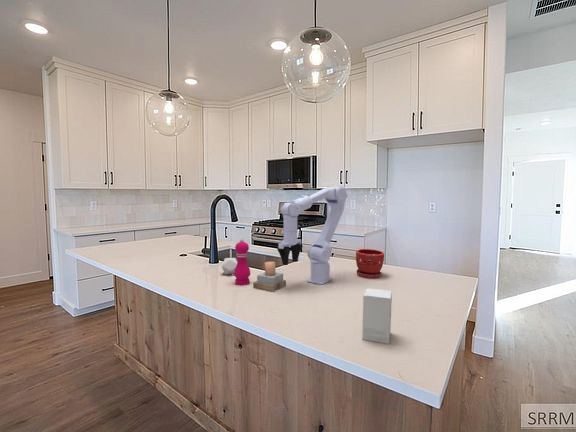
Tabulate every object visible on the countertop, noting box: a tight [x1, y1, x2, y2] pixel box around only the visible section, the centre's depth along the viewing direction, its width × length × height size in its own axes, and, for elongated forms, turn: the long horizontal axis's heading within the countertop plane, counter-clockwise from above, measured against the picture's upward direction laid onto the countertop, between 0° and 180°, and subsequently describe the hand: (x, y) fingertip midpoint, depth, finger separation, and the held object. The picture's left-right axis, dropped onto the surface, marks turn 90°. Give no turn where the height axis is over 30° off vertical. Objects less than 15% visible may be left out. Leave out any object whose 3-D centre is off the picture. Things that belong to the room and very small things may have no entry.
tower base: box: [252, 279, 287, 293], centre depth 134 cm, size 10×10×3 cm
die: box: [221, 257, 238, 276], centre depth 154 cm, size 8×9×10 cm
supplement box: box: [361, 288, 393, 344], centre depth 88 cm, size 7×7×13 cm
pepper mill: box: [234, 238, 251, 286], centre depth 139 cm, size 7×7×20 cm
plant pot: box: [355, 248, 385, 279], centre depth 151 cm, size 13×13×12 cm
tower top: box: [256, 271, 284, 285], centre depth 133 cm, size 8×8×3 cm
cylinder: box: [264, 261, 276, 276], centre depth 133 cm, size 4×4×5 cm
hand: (290, 263), depth 133 cm, fingers open, 7 cm apart
